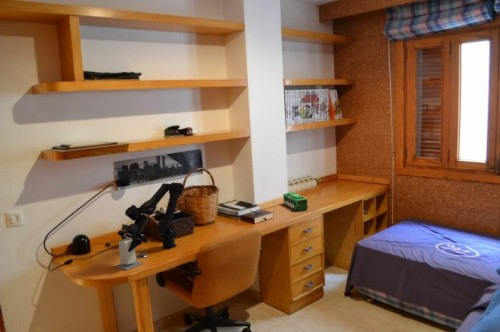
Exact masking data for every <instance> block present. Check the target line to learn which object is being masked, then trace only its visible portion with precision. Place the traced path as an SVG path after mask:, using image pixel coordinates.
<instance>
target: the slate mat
mask: <svg viewBox="0 0 500 332" xmlns="http://www.w3.org/2000/svg"><path fill="white" fill-rule="evenodd" d="M142 265H143V262H140V261H137V260H136V261H135V262H133V263H131V264H128V265H127V264H123V263H121V262H120V263H119V264H116V265H115V266H114V267H115V268H118V269H120V270H123V271H129V270H131V269H134V268H136V267H139V266H142Z"/></svg>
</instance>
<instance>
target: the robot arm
mask: <svg viewBox="0 0 500 332" xmlns="http://www.w3.org/2000/svg"><path fill="white" fill-rule="evenodd" d="M184 189H185V188H184V184H183V183H182V182H170V183H168V182H166V183H162V184H161V185H160V187H159V188H158V189H157V190H156V192H155V193H154V194H153V195H152V197H150V199H148V200H146V201H144V202H143V203H142V204H141V205H140V206H139V207H137V206H136V205H135V204H131V205H130V206H129V207H128V208H126V210H125V212H124V215H125V216H126V217H127V218H129V219H130V220H131V221H134V222H133V223H130V224H122V225H121V229H119V230H118V232H117V233H116V234H117V235H118V236H119V237H120V238H121V240H123V239H126V238H132V243H131V245H130V247H129V250H128V252H131V251H132V250H133V249H134V248H135V249H136V248H137V247H139V246H140V245H142V244H147V243H148V241H149V238H148V237H147V236H146V235H145V234H143V233H142V232H145V225H146V224H147V222H151V217H150V216H152V215H153V214H154V213H155V211H156V210H157V205H158V204H159V203H160V201H161V200H162V199H163V198H164V197H165V195H166V194H169V198H168V202H167V205H166V206H167V207H166V210H165V215H164V217H163V220H162V221H158V226H157V233H158V234H159V236H160V237H161V238H162V246H161V247H162V248H164V249H165V250H166V249H167V250H170V249H172V248H174V247H177V246H178V245H177V244H176V240H175V238H176V237H177V234H178V232H176V231H175V230H174V223H173V220H174V215H175V211H176V207H177V204H178V199H179V198H180V196H181V195H182V194H183V191H184ZM146 215H147V216H146ZM127 232H128V233H127Z"/></svg>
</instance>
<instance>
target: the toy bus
mask: <svg viewBox="0 0 500 332" xmlns="http://www.w3.org/2000/svg"><path fill="white" fill-rule="evenodd" d="M283 204H284V205H285V206H287V207H290V208H292V209H293V210H294V211H297V212H300V211H301V212H302V211H305V210H307V211H308V209H309V206H308V199H307V198H305V197H304V196H303V195H300V194H298V193H296V192H294V191H293V192H292V191H291V192H286V193H283Z"/></svg>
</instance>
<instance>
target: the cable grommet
mask: <svg viewBox="0 0 500 332" xmlns="http://www.w3.org/2000/svg"><path fill="white" fill-rule="evenodd" d="M147 257H148V253H140V254H137V255H136V259H144V258H147Z"/></svg>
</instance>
